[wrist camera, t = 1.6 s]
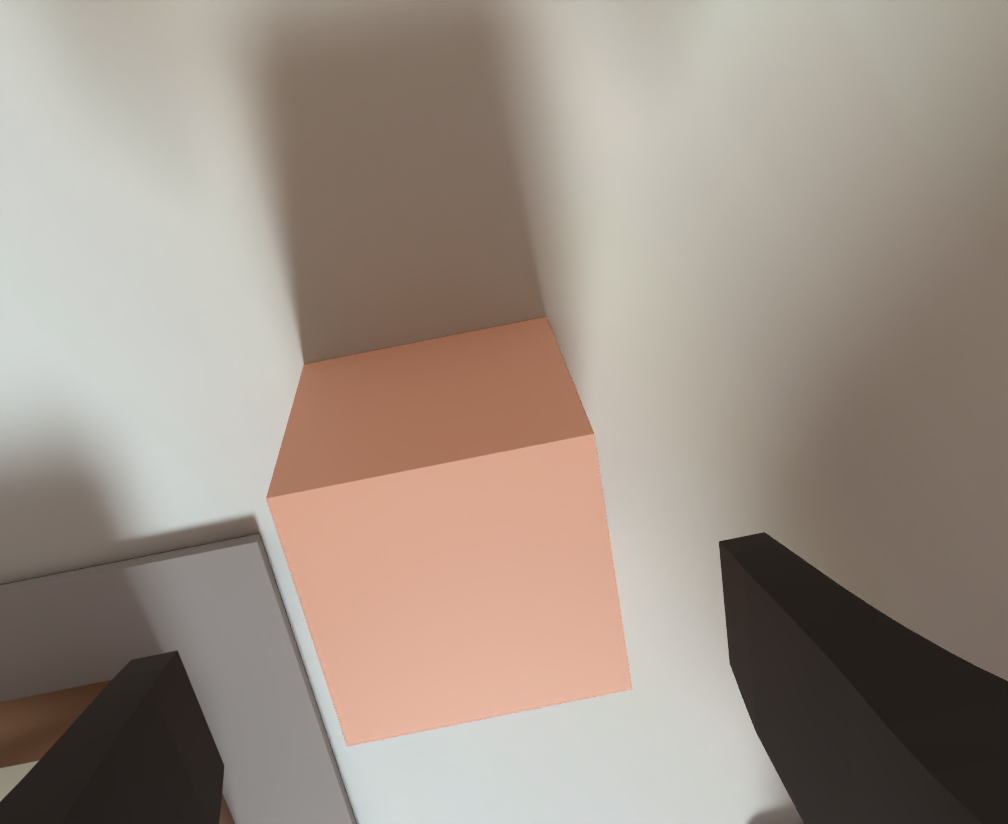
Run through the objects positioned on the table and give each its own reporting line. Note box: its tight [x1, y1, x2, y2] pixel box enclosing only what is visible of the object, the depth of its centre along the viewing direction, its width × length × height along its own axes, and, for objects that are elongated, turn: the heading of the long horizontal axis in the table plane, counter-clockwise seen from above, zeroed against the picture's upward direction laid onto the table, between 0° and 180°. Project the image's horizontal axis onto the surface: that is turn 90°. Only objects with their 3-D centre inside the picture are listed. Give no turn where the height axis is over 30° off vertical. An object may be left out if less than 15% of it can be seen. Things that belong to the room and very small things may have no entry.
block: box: [266, 317, 632, 746], centre depth 16 cm, size 4×4×5 cm
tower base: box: [0, 680, 235, 824], centre depth 19 cm, size 5×5×2 cm
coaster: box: [0, 534, 356, 824], centre depth 20 cm, size 10×10×1 cm
